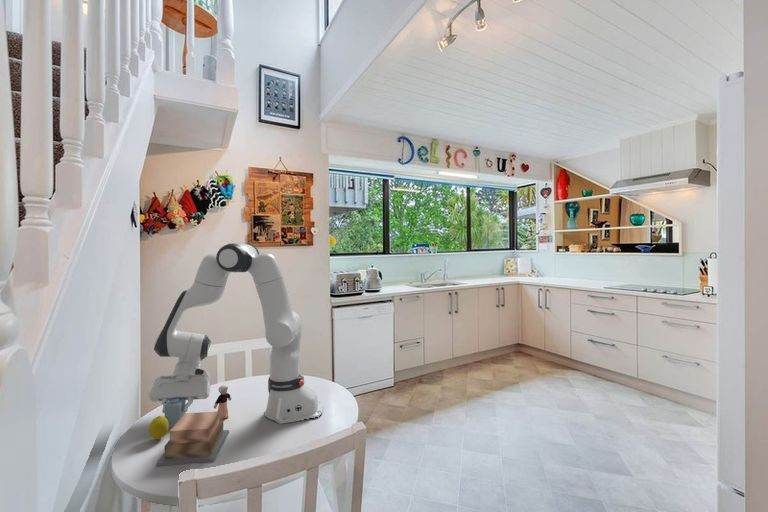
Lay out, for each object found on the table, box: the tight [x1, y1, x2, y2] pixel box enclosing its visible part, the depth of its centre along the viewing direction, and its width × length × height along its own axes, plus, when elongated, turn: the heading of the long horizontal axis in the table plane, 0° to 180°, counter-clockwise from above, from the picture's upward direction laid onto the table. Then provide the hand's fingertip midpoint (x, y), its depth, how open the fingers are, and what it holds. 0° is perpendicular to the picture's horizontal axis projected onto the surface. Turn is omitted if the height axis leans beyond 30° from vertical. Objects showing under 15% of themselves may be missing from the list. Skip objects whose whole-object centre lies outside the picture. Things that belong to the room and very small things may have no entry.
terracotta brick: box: [163, 410, 224, 459], centre depth 110 cm, size 13×13×8 cm
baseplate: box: [156, 429, 230, 467], centre depth 110 cm, size 16×16×1 cm
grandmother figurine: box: [213, 384, 232, 422], centre depth 129 cm, size 8×4×13 cm, turn 168°
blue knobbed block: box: [164, 398, 187, 428], centre depth 124 cm, size 5×5×9 cm
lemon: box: [148, 415, 170, 441], centre depth 114 cm, size 6×6×8 cm
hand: (174, 411), depth 124 cm, fingers closed on blue knobbed block, 5 cm apart
